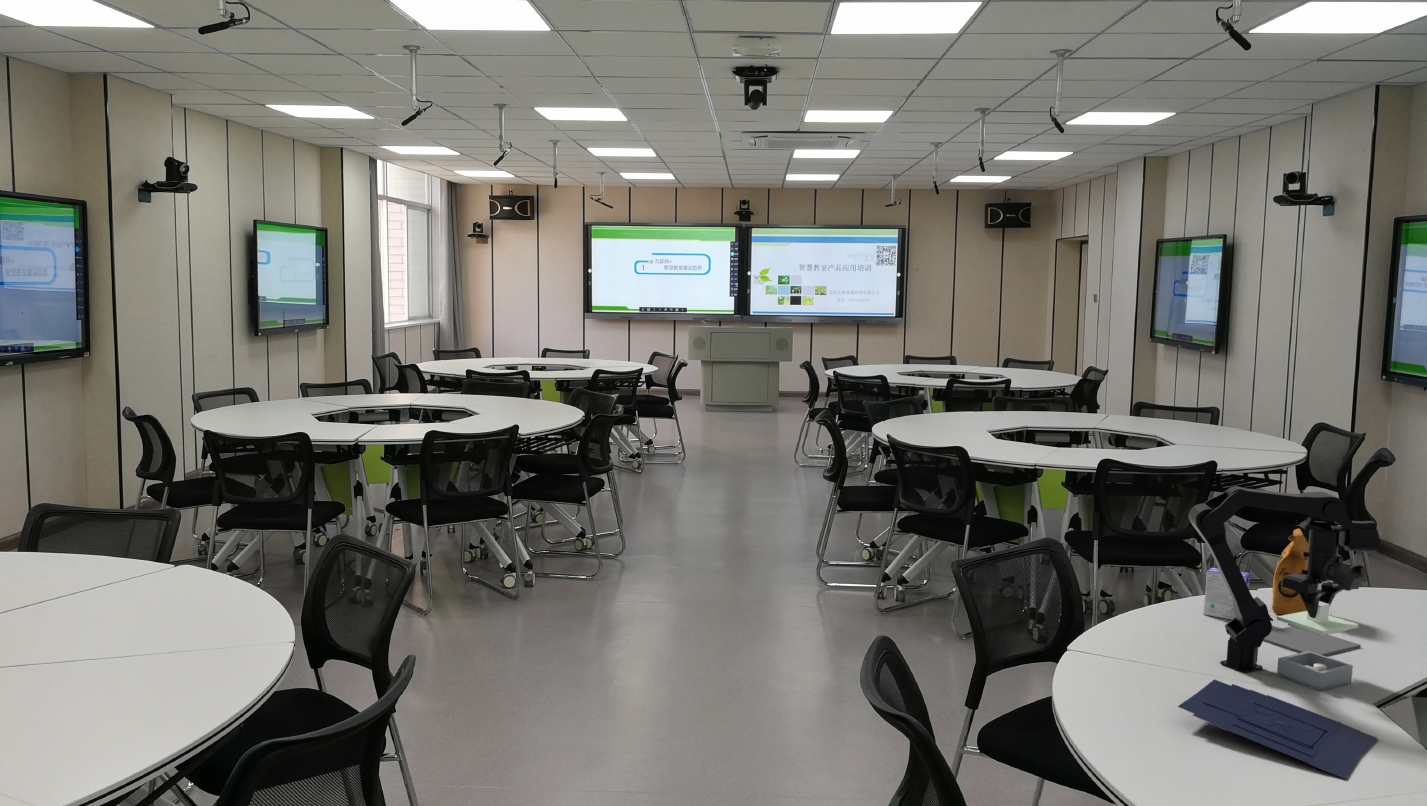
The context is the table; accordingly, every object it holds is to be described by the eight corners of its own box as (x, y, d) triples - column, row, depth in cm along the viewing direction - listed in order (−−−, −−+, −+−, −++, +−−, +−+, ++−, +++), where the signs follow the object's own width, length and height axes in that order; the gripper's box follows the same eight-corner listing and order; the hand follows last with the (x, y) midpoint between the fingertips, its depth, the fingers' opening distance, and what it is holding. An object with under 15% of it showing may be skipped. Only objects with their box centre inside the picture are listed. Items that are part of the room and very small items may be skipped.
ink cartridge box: (1247, 617, 269) (1252, 564, 268) (1243, 622, 265) (1248, 568, 263) (1207, 610, 275) (1211, 557, 274) (1202, 615, 271) (1206, 562, 269)
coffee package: (1265, 613, 273) (1271, 533, 271) (1275, 602, 283) (1281, 525, 280) (1307, 621, 267) (1313, 539, 264) (1316, 610, 276) (1322, 531, 274)
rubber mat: (1314, 658, 239) (1315, 656, 239) (1252, 637, 254) (1252, 635, 253) (1360, 647, 248) (1360, 644, 247) (1297, 627, 262) (1297, 625, 262)
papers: (1214, 688, 217) (1218, 673, 216) (1375, 750, 197) (1379, 733, 196) (1171, 722, 200) (1174, 705, 199) (1342, 793, 179) (1346, 775, 179)
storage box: (1320, 691, 219) (1322, 673, 219) (1276, 675, 228) (1278, 658, 228) (1351, 682, 224) (1352, 665, 224) (1307, 667, 233) (1308, 650, 233)
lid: (1322, 639, 222) (1325, 613, 221) (1276, 624, 232) (1278, 599, 231) (1357, 632, 227) (1360, 606, 226) (1310, 617, 237) (1312, 593, 236)
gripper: (1331, 562, 216) (1325, 633, 218) (1385, 553, 224) (1379, 622, 226) (1282, 550, 226) (1277, 617, 228) (1336, 542, 234) (1330, 607, 236)
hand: (1317, 616), depth 229 cm, fingers closed on lid, 3 cm apart
